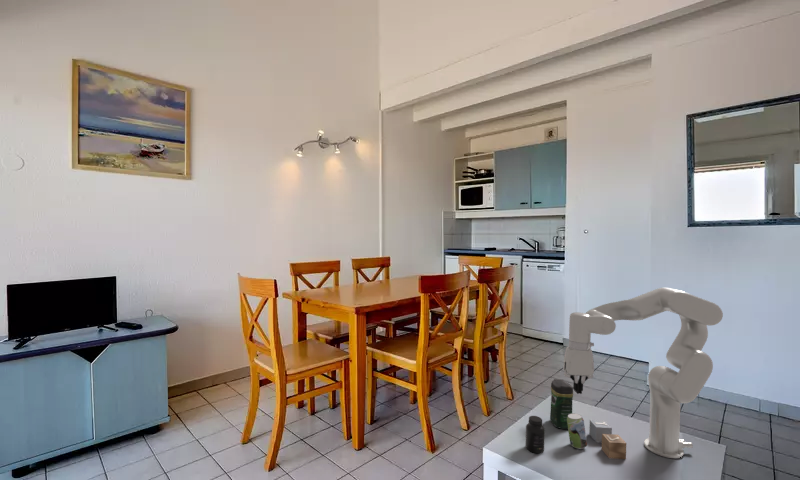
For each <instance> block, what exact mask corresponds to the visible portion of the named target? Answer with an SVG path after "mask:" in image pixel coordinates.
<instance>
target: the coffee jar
mask: <svg viewBox="0 0 800 480" xmlns="http://www.w3.org/2000/svg"><path fill="white" fill-rule="evenodd" d="M550 392H551V393H550V395H551V396H550V397H551V399H550V413H549V414H550V415H549V420H550V421H551V423H552V424H553V426H554V427H556V428H558V429H562V430H568V424H567V417H568V415H569V414H572V413H573V399H574V389H573V385H571V384H570V383H569V382H567V381H566V380H564V379H559V378H557V379H556V378H554V379H553V380H552V381H551V385H550Z"/></svg>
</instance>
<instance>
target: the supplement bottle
mask: <svg viewBox="0 0 800 480" xmlns="http://www.w3.org/2000/svg"><path fill="white" fill-rule="evenodd" d="M545 429H546V428H545V427H544V426H543V419H542V418H541V417H540V416H537V415H530V416H529V417H528V422H527V424H526V425H525V444H524V445H525V449H526V450H527V451H528V453H531V454H534V455H541V454H543V453H544V452H545V436H546V434H545V433H546V432H545V431H546V430H545Z"/></svg>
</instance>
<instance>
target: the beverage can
mask: <svg viewBox="0 0 800 480" xmlns="http://www.w3.org/2000/svg"><path fill="white" fill-rule="evenodd" d="M567 424H568V429H567V431H568V437H569V443H570V446H572V447H573V448H575V449H577V450H583V449H585V448H586V447H587V446H588V441H587V440H588V439H587V433H586V428H585V426H586V425H585V421H584V418H583V416H582V415H581V414H579V413H576V412H575V413H573V412H572V414H569V415H568V417H567Z"/></svg>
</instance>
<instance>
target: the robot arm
mask: <svg viewBox="0 0 800 480" xmlns="http://www.w3.org/2000/svg"><path fill="white" fill-rule="evenodd" d="M663 312H670V313H674V314H677V315H679V318H680V330H679V332H678V334H677V336H676V337H675V339H674V340H673V341H672V343H671V345H670V347H669V348H668V350H667V352H666V354H665V355H666V356H665V358H666V361H667V362H668V363H669V364H670V365H671V366H674V367H675V368H676V369H679V371H676V370H674V369H672V368H670V367H667V366H664V365H656V366H654V367H652V368H651V369H650V370H649V372H648V379H647V380H648V386H649V393H650V394H649V395H650V398H649V399H650V401H649V403H650V404H649V429H648V431H649V433H648V438H646V439H644V441H643V444H644V447H645V448H646V449H648V451H650V452H651V453H653V454H655V455H657V456H661V457H663V458H669V459H681V458H683V457H684V456H683V455H685V452H684V450H683V449H685V448H687V449H692V448H693V446H694V445H693V443H692V442H689V441H685V440H684V439H681V438H680V429H681V428H680V427H681V426H680V425H681V422H680V421H681V404H689V403H692V402H693V401H694V400H695V399H696V398H697V397H698V395H699V394H700V392H701V391H702V389H703V388H704V386H705V385H706V383H707V381H708V380H709V378H710V376H711V375H712V373H713V368H714V363H713V360H712V358H711V357H710V356H709V355H708V354H707V353H706V352H704V351H703V348H704V347H705V344H706V342H707V341H708V337H709V330H708V326H715V325H717V324H719V323H720V322H721V321H722V320H723V316H724V313H723V310H722V309H721V307H720V306H719V305H718V304H717V303H715V302H712V301H709V300H707V299H703V298H702V297H698V296H695V295H693V294H691V293H689V292H685V291H683V290H679V289H676V288H671V287H659V288H655V289H653V290H650V291H647V292H645V293H642V294H640V295H638V296H634V297H632V298H630V299H629V298H628V299H623V300H619V301H613V302H608V303H605V304H601V305H599V306H596V307H593V308H591V309H589V310H588V311H586V312H579V311H578V312H577V311H576V312H571V313H570V315H569V321H568V322H569V324H568V325H569V329H568V332H569V333H568V346H566V348H565V352H564V357H563V364H562V366H563V371H564V372H563V376H564V377H566V378H569V379H571V380H572V381H573V385H572V387H573V392H575V393H576V394H577V395H579V394H580V395H582V394H583V393H582V392H583V391H584V384H585V382H586V381H587V380H590V379H593V378H594V373H595V364H594V355H593V350H592V347H594V346H595V344H594V342H592V341H591V335H592V334H594V335H595V334H596V335H602V336H607V335H611V334H613V333H614V332H615V331H616V327H617V324H616V322H615V321H643V320H645V319H648V318H652V317H653V316H656V315H658V314H661V313H663ZM682 456H683V457H682ZM680 457H681V458H680Z"/></svg>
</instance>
